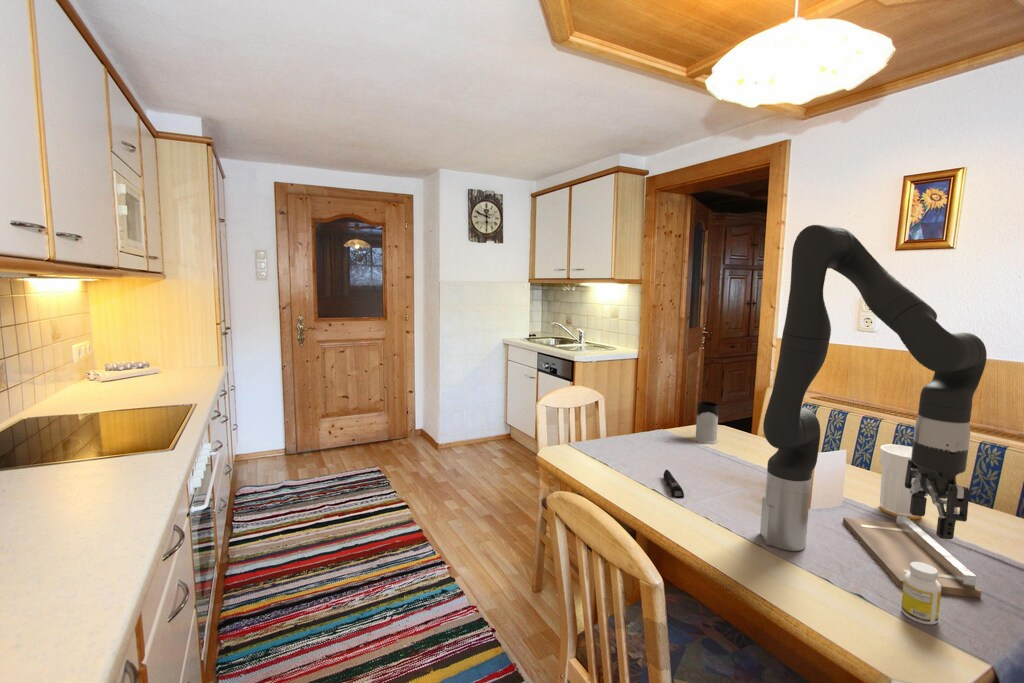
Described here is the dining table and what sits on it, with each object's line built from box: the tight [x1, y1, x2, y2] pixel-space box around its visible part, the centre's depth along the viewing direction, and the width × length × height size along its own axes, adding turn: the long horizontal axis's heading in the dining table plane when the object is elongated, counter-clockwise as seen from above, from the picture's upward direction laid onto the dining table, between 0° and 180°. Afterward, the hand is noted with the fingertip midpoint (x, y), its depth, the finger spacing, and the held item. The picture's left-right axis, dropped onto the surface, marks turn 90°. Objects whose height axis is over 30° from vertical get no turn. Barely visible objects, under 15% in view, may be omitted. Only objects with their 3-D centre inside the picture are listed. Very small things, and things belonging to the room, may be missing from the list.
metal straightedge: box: [895, 515, 978, 588], centre depth 110 cm, size 2×26×2 cm, turn 166°
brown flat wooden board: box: [842, 517, 982, 599], centre depth 112 cm, size 14×28×2 cm, turn 166°
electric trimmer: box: [662, 469, 685, 499], centre depth 149 cm, size 4×16×3 cm, turn 174°
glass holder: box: [694, 401, 719, 445], centre depth 195 cm, size 9×14×15 cm, turn 162°
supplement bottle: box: [901, 562, 942, 625], centre depth 91 cm, size 5×5×10 cm
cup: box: [878, 444, 922, 520], centre depth 133 cm, size 11×11×17 cm
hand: (930, 526), depth 90 cm, fingers open, 8 cm apart
